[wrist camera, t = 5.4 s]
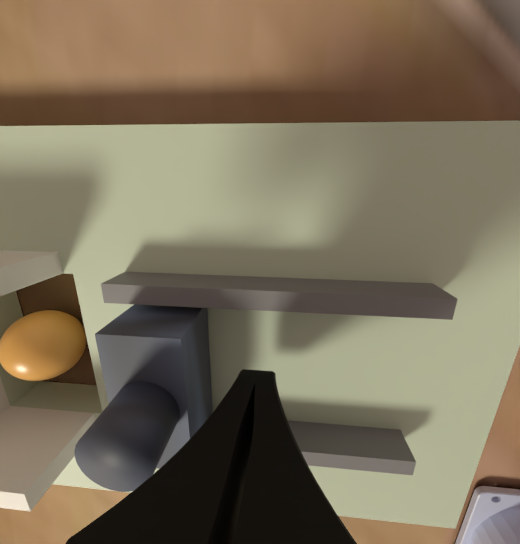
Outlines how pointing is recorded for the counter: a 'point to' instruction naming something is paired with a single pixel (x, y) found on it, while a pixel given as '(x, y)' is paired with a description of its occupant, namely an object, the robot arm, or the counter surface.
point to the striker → (147, 393)
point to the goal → (33, 421)
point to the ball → (42, 345)
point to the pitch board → (298, 279)
